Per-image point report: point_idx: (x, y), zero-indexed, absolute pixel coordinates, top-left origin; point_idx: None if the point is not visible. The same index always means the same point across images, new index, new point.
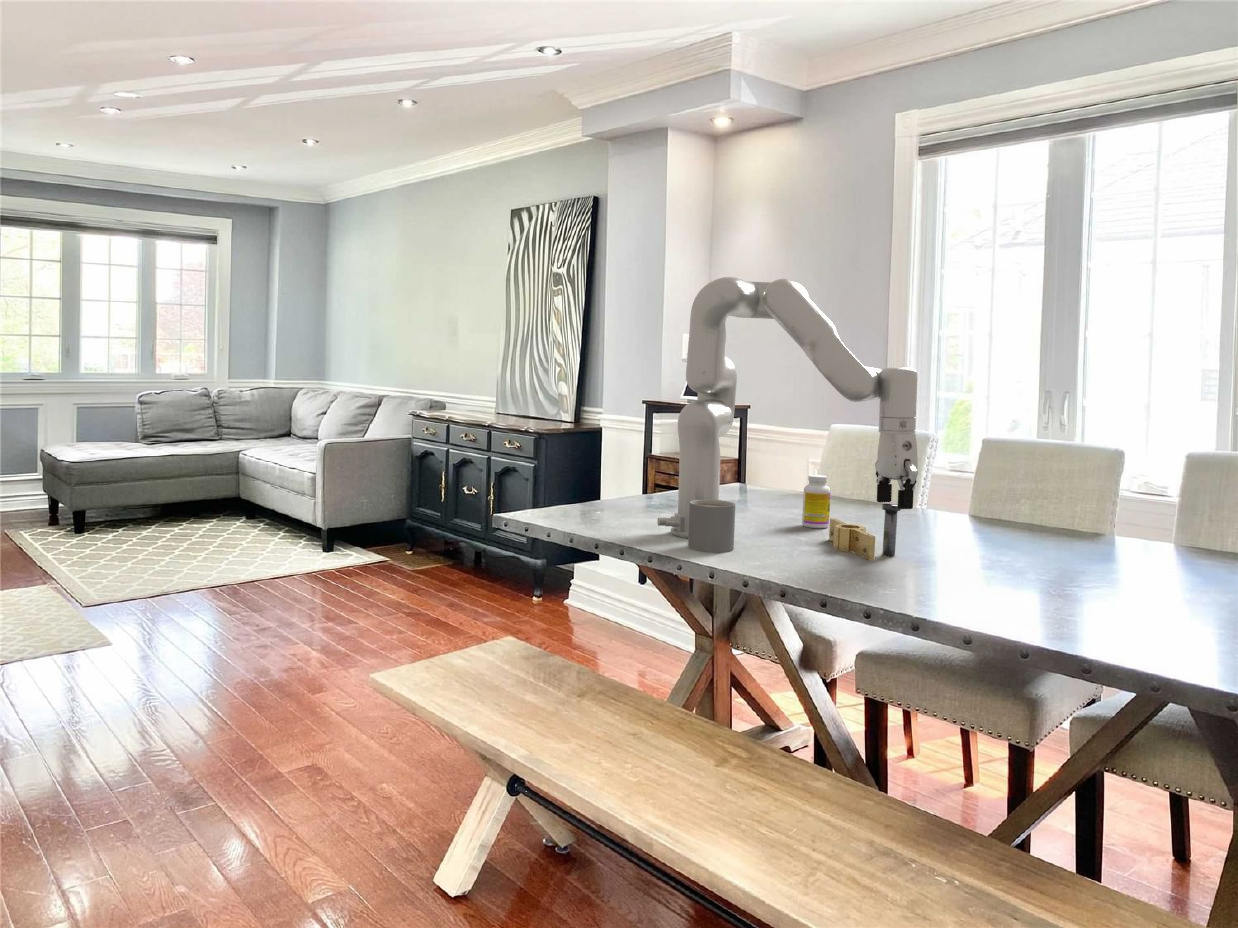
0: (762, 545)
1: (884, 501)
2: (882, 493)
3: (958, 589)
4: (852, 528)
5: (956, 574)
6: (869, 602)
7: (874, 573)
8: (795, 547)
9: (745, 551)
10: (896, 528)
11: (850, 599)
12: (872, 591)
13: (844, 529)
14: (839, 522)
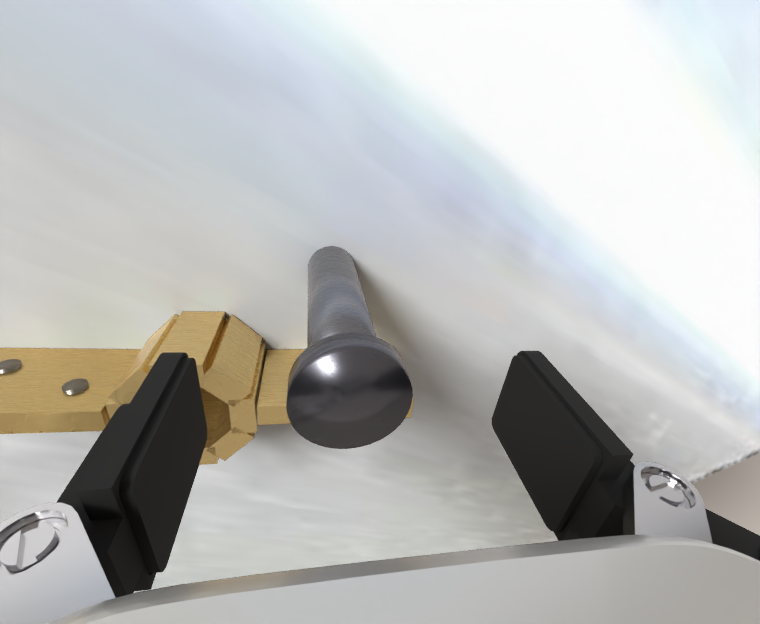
0: (173, 546)
1: (200, 401)
2: (183, 471)
3: (739, 289)
4: (235, 423)
5: (644, 190)
6: (683, 476)
7: None
8: (196, 488)
9: None
10: (356, 297)
11: None
12: (640, 454)
13: (238, 446)
14: (65, 429)
